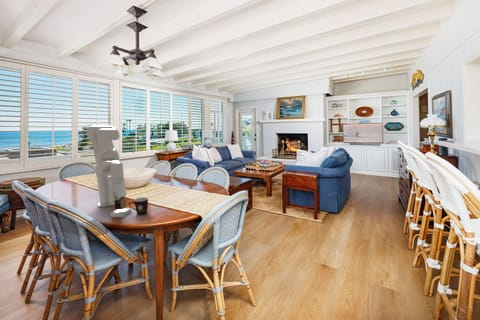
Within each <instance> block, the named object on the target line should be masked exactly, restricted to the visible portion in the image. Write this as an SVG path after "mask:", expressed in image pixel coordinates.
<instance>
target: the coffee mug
mask: <svg viewBox="0 0 480 320" xmlns="http://www.w3.org/2000/svg"><path fill="white" fill-rule="evenodd" d="M131 203H133V205H134V206H135V208H134V207H132V206H131ZM128 207H130V208H131V210H132V209H133V210H134V211H135V212H136V215H137V216H145V215H148V207H149V198H148V197H137V198H135V199H134V200H133V201H130V202H129V203H128Z"/></svg>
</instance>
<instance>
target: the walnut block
mask: <svg viewBox="0 0 480 320" xmlns="http://www.w3.org/2000/svg"><path fill="white" fill-rule="evenodd" d="M116 200H117V201H118V199H116ZM119 203H120V209H123V208H127V199H126V197H125V198H120V199H119ZM113 206H114V207H115V203H114V205H113Z"/></svg>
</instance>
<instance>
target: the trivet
mask: <svg viewBox="0 0 480 320" xmlns="http://www.w3.org/2000/svg"><path fill="white" fill-rule="evenodd" d="M131 213H132V208H131V207H130V208H127V207H125V208H123V209H114V210H113V211H112V212H110V213H109V214H110V218H124V217H126V216H128V215H129V214H131Z"/></svg>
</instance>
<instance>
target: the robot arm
mask: <svg viewBox="0 0 480 320" xmlns="http://www.w3.org/2000/svg"><path fill="white" fill-rule="evenodd" d="M86 135H87V137H88V140H89V141H90V143H91V146H92V149H93V156H94V159H95V164H96V165H95V167H94V172H95V177H96V181H97V187H98V197H99V202H98V204H97V207H99V208H106V207H111V206H114V203H115V206H114V210H117V209H120V203H119V199H120V198H126V196H127V189H126V183H125V177H124V175H125V174H124V165H123V162H121V160H120V155H119V151H118V150H117V149H116V148H115V146H114V142H113V141H117V140H120V131H119V130H118V129H117V127H115V126H113V125H90V126H88V127H87V128H86ZM109 176H110V177H109ZM116 199H118V201H117V200H116Z"/></svg>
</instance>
